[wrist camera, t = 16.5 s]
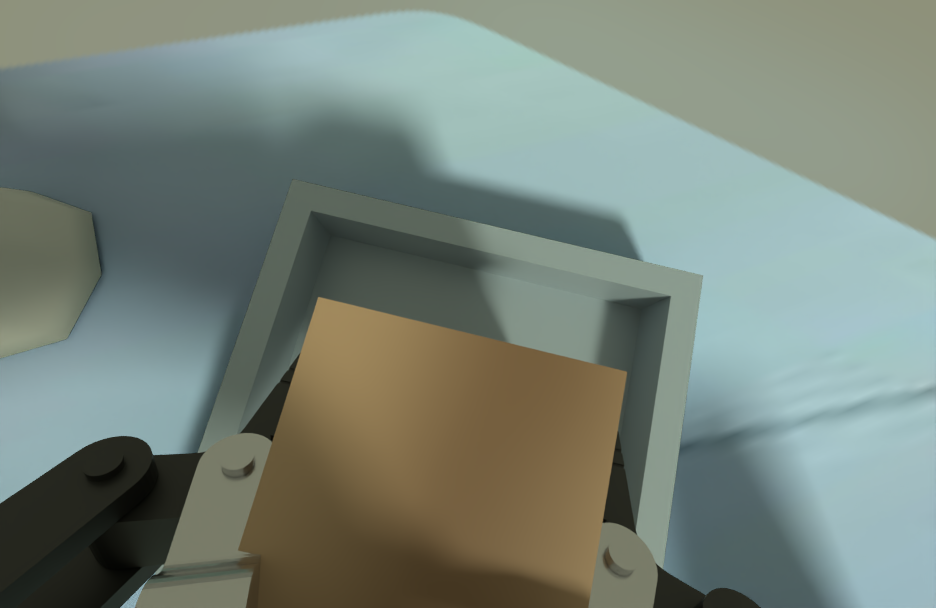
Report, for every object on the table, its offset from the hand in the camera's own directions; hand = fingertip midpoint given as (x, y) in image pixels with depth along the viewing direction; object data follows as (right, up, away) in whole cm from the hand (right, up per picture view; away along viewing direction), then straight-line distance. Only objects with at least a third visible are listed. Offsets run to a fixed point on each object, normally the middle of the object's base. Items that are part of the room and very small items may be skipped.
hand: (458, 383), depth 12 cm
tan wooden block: (0, -3, +4) cm, 5 cm away
